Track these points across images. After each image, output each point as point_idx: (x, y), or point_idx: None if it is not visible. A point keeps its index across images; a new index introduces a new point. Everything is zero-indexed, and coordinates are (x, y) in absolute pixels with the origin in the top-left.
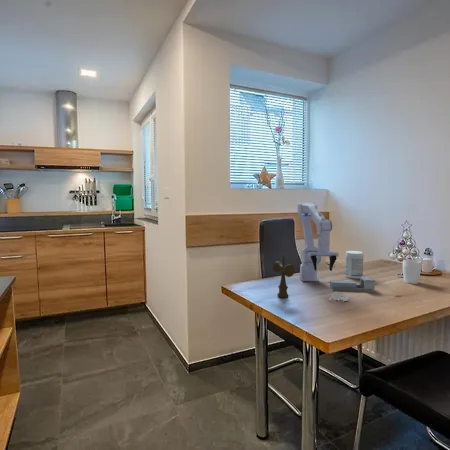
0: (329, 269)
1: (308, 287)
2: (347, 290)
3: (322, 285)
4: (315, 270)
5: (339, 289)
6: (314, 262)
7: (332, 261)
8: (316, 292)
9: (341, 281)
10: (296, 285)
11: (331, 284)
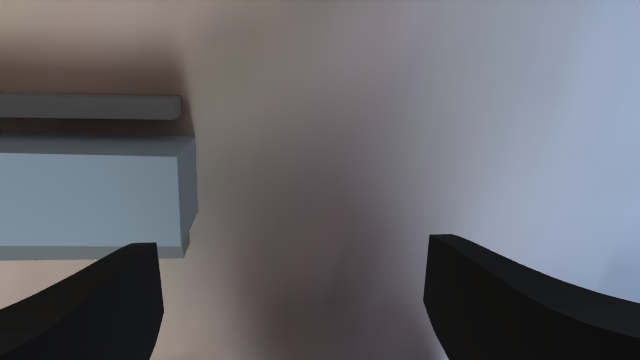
0: (161, 314)
1: (429, 192)
2: (8, 92)
3: (264, 273)
4: (446, 234)
5: (103, 97)
6: (589, 294)
7: (6, 338)
8: (388, 18)
9: (31, 215)
10: (531, 246)
11: (183, 160)
